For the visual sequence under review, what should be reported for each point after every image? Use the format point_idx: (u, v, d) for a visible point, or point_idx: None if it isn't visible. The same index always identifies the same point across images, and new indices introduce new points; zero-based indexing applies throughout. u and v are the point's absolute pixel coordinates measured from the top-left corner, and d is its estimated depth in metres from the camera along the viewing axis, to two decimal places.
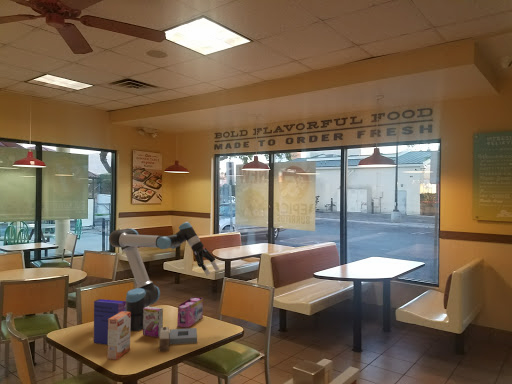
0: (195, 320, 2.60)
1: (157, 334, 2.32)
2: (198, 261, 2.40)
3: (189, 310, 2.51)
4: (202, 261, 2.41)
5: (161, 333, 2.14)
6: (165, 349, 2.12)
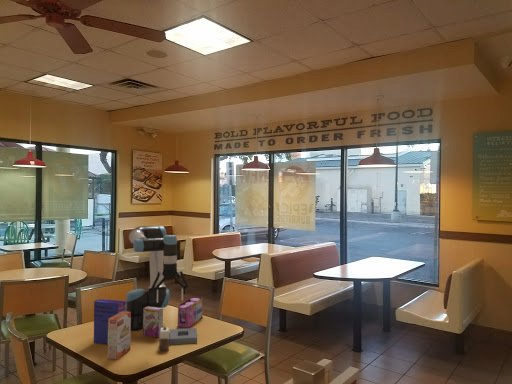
0: (195, 320, 2.60)
1: (157, 334, 2.32)
2: (153, 284, 2.17)
3: (189, 310, 2.51)
4: (157, 286, 2.16)
5: (161, 333, 2.14)
6: (165, 349, 2.12)
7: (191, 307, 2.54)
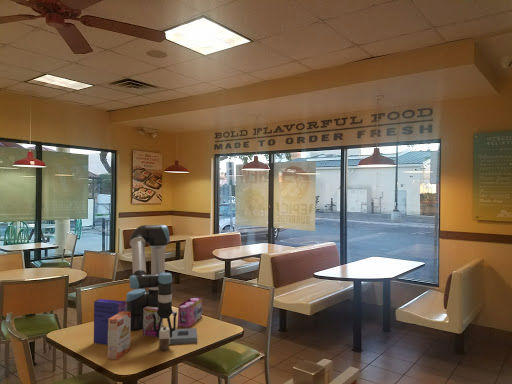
0: (195, 320, 2.60)
1: None
2: None
3: (189, 310, 2.52)
4: (158, 328, 2.16)
5: (161, 333, 2.14)
6: (165, 349, 2.12)
7: (191, 307, 2.54)
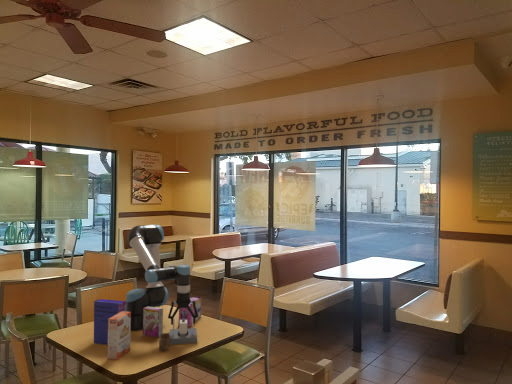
0: (195, 319, 2.61)
1: (157, 334, 2.32)
2: (169, 313, 2.29)
3: None
4: (172, 315, 2.29)
5: (180, 325, 2.27)
6: (165, 349, 2.12)
7: (192, 306, 2.55)
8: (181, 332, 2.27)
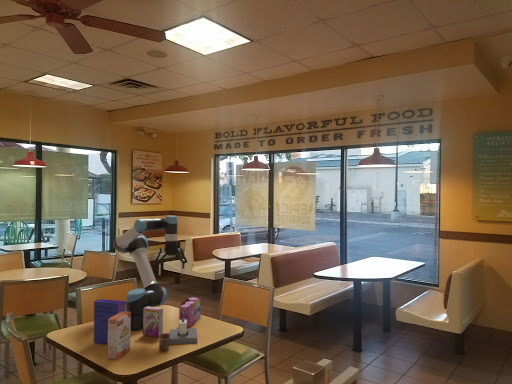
0: (195, 319, 2.62)
1: (157, 334, 2.32)
2: None
3: (191, 309, 2.53)
4: (159, 261, 2.43)
5: (180, 325, 2.27)
6: (165, 349, 2.12)
7: (192, 306, 2.55)
8: (181, 332, 2.27)
